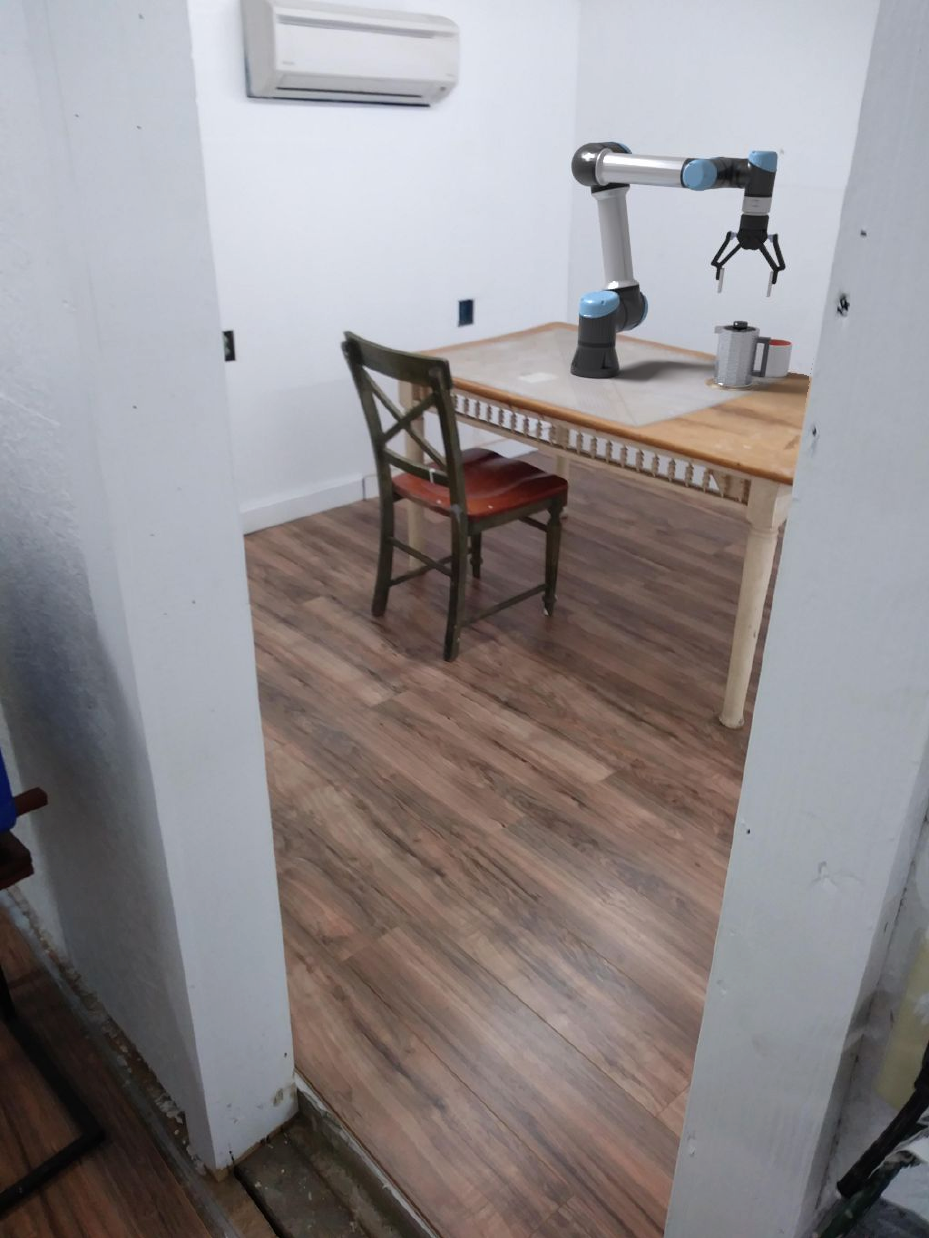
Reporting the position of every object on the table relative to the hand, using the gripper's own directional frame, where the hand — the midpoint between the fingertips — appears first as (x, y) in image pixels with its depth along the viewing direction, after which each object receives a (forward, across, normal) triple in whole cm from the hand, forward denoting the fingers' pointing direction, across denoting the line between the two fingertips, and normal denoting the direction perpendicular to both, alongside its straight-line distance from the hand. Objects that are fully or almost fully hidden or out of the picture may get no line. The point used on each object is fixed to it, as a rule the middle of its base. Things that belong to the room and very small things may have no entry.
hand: (743, 294), depth 272 cm
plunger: (+18, 0, 0) cm, 18 cm away
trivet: (+26, 0, 0) cm, 26 cm away
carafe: (+25, 0, 0) cm, 25 cm away
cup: (+26, +10, +18) cm, 33 cm away
